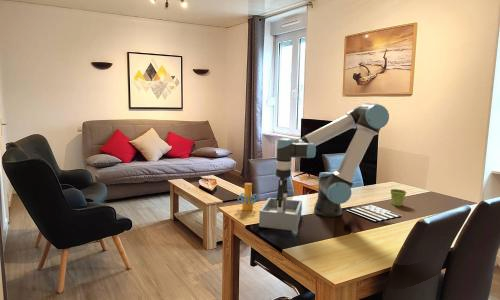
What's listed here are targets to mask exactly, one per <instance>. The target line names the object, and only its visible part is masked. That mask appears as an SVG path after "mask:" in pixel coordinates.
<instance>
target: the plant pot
mask: <svg viewBox="0 0 500 300" xmlns="http://www.w3.org/2000/svg"><path fill="white" fill-rule="evenodd" d="M389 192H390V195H391V196H390V197H391V205H393V206H395V207H402V206H403V204H404V199H405V196H406V194H407V193H408V192H407V190H404V189H399V188H398V189H397V188H392V189H390V190H389Z"/></svg>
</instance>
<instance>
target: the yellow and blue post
mask: <svg viewBox="0 0 500 300" xmlns="http://www.w3.org/2000/svg"><path fill="white" fill-rule="evenodd" d="M252 188H253V183H252V182H245V183H244V192H242V193H240V195H239V196H238V197H237V202H238V203H240V204H241V203H242V204H241V205H242V206H241V207H242V211H244V212H251V211H253V209H254V204H256V203H257V201H258V199H259V195H258V194H256V193H254V194H252V192H253V191H252V190H253V189H252Z"/></svg>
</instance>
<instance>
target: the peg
mask: <svg viewBox="0 0 500 300" xmlns="http://www.w3.org/2000/svg"><path fill="white" fill-rule="evenodd" d="M285 211H286V198H285V197H283V213H285Z"/></svg>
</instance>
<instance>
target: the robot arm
mask: <svg viewBox="0 0 500 300" xmlns="http://www.w3.org/2000/svg"><path fill="white" fill-rule="evenodd" d="M345 113H346V114H345V115H344V116H341V117H340V118H338V119H336V120H333V121H332V122H330V123H328V124H326V125H324V126H322V127H319V128H318V129H316V130H314V131H312V132H310V133H307V134H305V135H304V136H302V137H300V138H295V139H291V138H288V137H287V138H286V137H281V138H278V139H277V143H276V161H275V165H276V166H275V168H276V169H275V176H276V177H277V178H279V179H278V185H277V187H278V188H277V195H276V198H277V199H276V201H277V212H281V213H283V197H285V198H286V200H287V197H288V194H289V190H288V178H291V174H292V173H291V172H292V170H291V169H292V158H297V159H298V158H300V159H301V158H302V159H303V158H304V159H306V158H307V159H311V158H312V159H314V158H315V157H316V152H317V148H316V147H317V146H318V145H320V144H322V143H325V142H327V141H329V140H331V139H332V138H335V137H336V136H339V135H341V134H342V133H345V132H346V131H348V130H351V129H355V130H356V131H355V134H354V135H353V138H352V139H351V141H350V143H349V145H348V148H347V149H346V151H345V154H344V155H343V157H342V159H341V162H340V163H339V166H338V168H337V170H336V171H325V172H324V171H323V172H319V175H318V189H317V198H316V202H315V204H314V207H313V212H314V213H315V214H317V215H318V216H322V217H328V218H332V217H339V216H341V215H342V207H341V205H342V204H345V203H347V202H348V201H349V200H350V198H351V196H352V187H353V185H354V180H353V178H354V176H355V174H356V172H357V170H358V168H359V166H360V164H361V162H362V160H363V158H364V155H365V154H366V151H367V149H368V148H369V146H370V143H371V142H372V140H373V138H374V136H376V135H378V134H379V132H380V130H381V129H382V128H384V127H385V126H386V125H387V124H388V123H389V120H390V114H389V111H388V108H387V107H385V106H384V105H382V104H379V103H364V104H361V105H359V106H357V107H354V108H353V109H351V110H349V111H347V112H345Z"/></svg>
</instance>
